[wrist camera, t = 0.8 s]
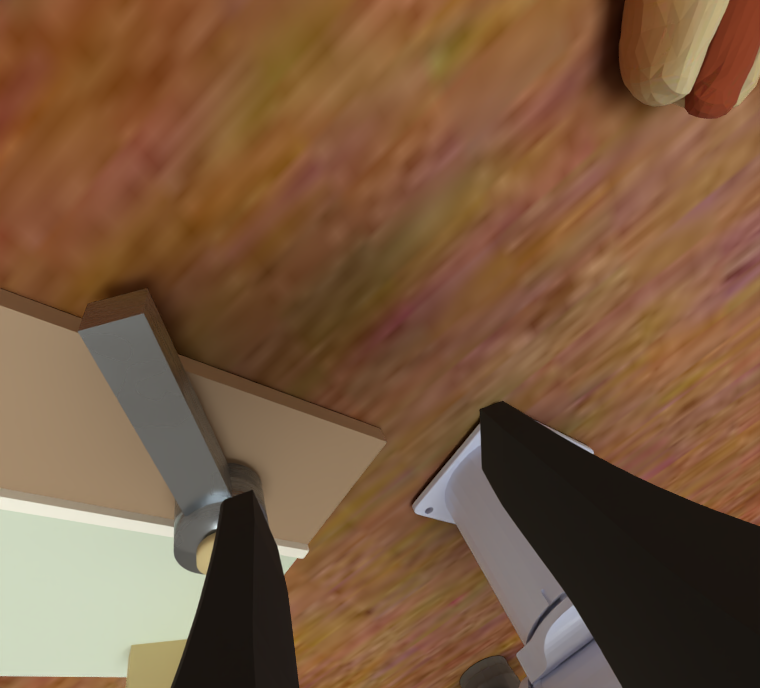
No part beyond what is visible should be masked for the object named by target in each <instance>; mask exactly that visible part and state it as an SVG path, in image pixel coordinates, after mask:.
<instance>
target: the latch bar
mask: <svg viewBox="0 0 760 688" xmlns="http://www.w3.org/2000/svg"><path fill="white" fill-rule="evenodd" d="M78 333H79V334H80V336H81V338H82V340H83V341H84V343H85V345H86V346H87V348H88V350H89V352H90V353H91V355H92V357H93V359H94V360H95V362H96V364H97V365H98V367H99V369H100V371H101V372H102V374H103V376H104V377H105V379H106V381H107V383H108V384H109V386H110V388H111V390H112V391H113V393H114V395H115V396H116V398H117V400H118V402H119V403H120V405H121V407H122V408H123V410H124V412H125V414H126V415H127V417H128V419H129V421H130V422H131V424H132V426H133V427H134V429H135V431H136V433H137V434H138V436H139V438H140V439H141V441H142V443H143V445H144V446H145V448H146V450H147V452H148V453H149V455H150V457H151V458H152V460H153V462H154V464H155V465H156V467H157V469H158V470H159V472H160V474H161V476H162V477H163V479H164V481H165V483H166V484H167V486H168V488H169V489H170V491H171V493H172V495H173V496H174V498H175V506H174V557H175V559H176V561H177V562H178V564H179V565H180V566H182V567H183V568H184V569H186V570H188V571H190V572H193V573H197V574H203V573H201V572H200V571H199V570H198V568H197V561H196V550H197V547H198V545H199V544H200V542H201V541H202V540H203V539H205V538H206V537H207V536H209V535H211V534H213V533H216V530H217V524H218V519H219V512H220V505H221V504H222V502H223V501H224V500H225V499H227V498H230V497H233V496H236V495H239V494H242V493H244V492H247V491H250V490H253V491H254V494H255V496H256V498H257V501H258V503H259V505H260V507H261V510H262V512H263V514H264V517H265V519H266V521H267V524H268V526H269V523H268V517H267V511H266V506H265V500H264V494H263V488H262V483H261V480H260V478H259V476H258V475H257V474H256V473H255V472H254V471H253V470H252V469H250V468H248V467H246V466H244V465H240V464H236V463H227V461H226V458H225V456H224V454H223V452H222V450H221V448H220V445H219V443H218V441H217V439H216V437H215V434H214V432H213V430H212V428H211V426H210V424H209V421H208V419H207V417H206V415H205V413H204V410H203V408H202V406H201V404H200V402H199V400H198V397H197V395H196V393H195V391H194V389H193V386H192V384H191V382H190V380H189V378H188V375H187V373H186V371H185V369H184V367H183V365H182V362H181V360H180V358H179V356H178V354H177V351H176V349H175V347H174V345H173V343H172V341H171V338H170V336H169V334H168V332H167V330H166V327H165V325H164V323H163V321H162V319H161V317H160V314H159V312H158V310H157V308H156V306H155V303H154V301H153V299H152V297H151V295H150V292H149V290H148V288H146V289H142V290H138V291H134V292H131V293H127V294H123V295H119V296H115V297H111V298H108V299H104V300H100V301H96V302H92V303H88V305H87V307H86V310H85V313H84V315H83V318H82V321H81V323H80V326H79V329H78ZM203 575H205V574H203Z"/></svg>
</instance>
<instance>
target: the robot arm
mask: <svg viewBox="0 0 760 688" xmlns="http://www.w3.org/2000/svg"><path fill="white" fill-rule="evenodd" d="M412 508H413V510H414V512H415V513H416V514H418V515H422V516H426V517H429V518H433V519H437V520H441V521H445V522H449V523H453V524H456V525H457V527H458V529H459V531H460V532H461V534H462V536H463V538H464V539H465V541H466V543H467V545H468V546H469V548H470V550H471V552H472V554H473V555H474V557H475V559H476V561H477V562H478V564H479V566H480V568H481V570H482V571H483V573H484V575H485V577H486V578H487V580H488V582H489V584H490V585H491V587H492V589H493V591H494V593H495V594H496V596H497V598H498V600H499V601H500V603H501V605H502V607H503V609H504V610H505V612H506V614H507V616H508V617H509V619H510V621H511V623H512V625H513V626H514V628H515V630H516V632H517V633H518V635H519V637H520V639H521V640H522V642H523V644H524V647H523V648H522V649H521V650H520V651H519V652H517V654H516V656H517V658H518V660H519V662H520V664H521V665H522V667H523V669H524V671H525V673H526V675H527V677H526V678H524V679H523V680H522V681H521V683H520V685H519V688H760V526H757V525H754V524H752V523H749V522H746V521H743V520H741V519H738V518H735V517H732V516H729V515H727V514H724V513H721V512H718V511H716V510H713V509H710V508H708V507H705V506H703V505H700V504H698V503H695V502H693V501H690V500H688V499H686V498H683V497H681V496H679V495H676V494H674V493H672V492H669V491H667V490H665V489H662V488H660V487H658V486H655V485H653V484H651V483H649V482H647V481H645V480H642V479H640V478H638V477H636V476H634V475H632V474H630V473H628V472H626V471H624V470H622V469H620V468H618V467H616V466H614V465H612V464H610V463H608V462H607V461H605V460H603V459H601V458H599V457H597V456H595V455H594V451H593V450H592V449H591V448H590V447H589V446H587V445H585V444H583V443H580V442H578V441H576V440H574V439H572V438H570V437H568V436H566V435H564V434H562V433H560V432H558V431H556V430H554V429H552V428H550V427H548V426H546V425H544V424H542V423H540V422H538V421H536V420H534V419H532V418H530V417H529V416H527V415H525V414H524V413H522V412H520V411H519V410H517V409H516V408H514V407H512V406H510V405H509V404H507V403H505V402H504V401H502V402H499V403H496V404H493V405H490V406H487V407H485V408H482V409H480V424H479V425H478V426H477V427H476V428H475V430H474V431H473V432H472V433H471V434H470V436H469V437H468V438H467V439H466V440H465V442H464V443H463V444H462V445H461V446H460V448H459V449H458V450H457V451H456V452H455V454H454V455H453V456H452V457H451V458H450V460H449V461H448V462H447V463H446V464H445V466H444V467H443V468H442V469H441V470H440V472H439V473H438V474H437V475H436V476H435V478H434V479H433V480H432V481H431V483H430V484H429V485H428V486H427V487H426V489H425V490H424V491H423V492H422V493H421V495H420V496H419V497H418V498H417V499H416V501H415V502H414V503H413V506H412ZM171 688H299V682H298V674H297V665H296V657H295V648H294V639H293V631H292V622H291V614H290V606H289V598H288V591H287V586H286V582H285V577H284V573H283V568H282V564H281V560H280V555H279V551H278V547H277V544H276V542H275V540H274V537H273V535H272V533H271V530H270V528H269V526H268V524H267V521H266V519H265V517H264V514H263V512H262V510H261V507H260V505H259V503H258V501H257V498H256V496H255V494H254V491H253V490H250V491H247V492H244V493H242V494H239V495H236V496H233V497H230V498H227V499H225V500H224V501H223V502H222V504H221V505H220V512H219V519H218V524H217V530H216V535H215V540H214V545H213V549H212V553H211V558H210V562H209V566H208V570H207V574H206V578H205V581H204V585H203V589H202V592H201V596H200V600H199V604H198V607H197V610H196V614H195V617H194V620H193V623H192V626H191V629H190V632H189V635H188V639H187V642H186V645H185V648H184V651H183V654H182V657H181V660H180V663H179V666H178V668H177V671H176V674H175V677H174V680H173V682H172V685H171Z"/></svg>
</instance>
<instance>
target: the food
mask: <svg viewBox="0 0 760 688" xmlns="http://www.w3.org/2000/svg"><path fill="white" fill-rule="evenodd" d="M619 65H620V72H621V75H622V79H623V82H624V85H625V86H626V87H627V88H628V89H629V91H630V92H631V93H632V95H633V96H634V97H635V98H636V99H637V100H639V101H641V102H642V103H644V104H646V105H650V106H653V107H654V106H663V105H668V104H671V103H673V104H675V105H678V106H681V107H684V108H685V109H686V110H687V112H688V113H689V114H690V115H693V116H696V117H700V118H706V119H712V118H718V117H721V116H723V115H726V114H727V113H728V112H729V111H730V110H731V109H732V108H733V107H736V106H739V105H740V103H741V102H742V101H743V100H744V99H745V98H746V97H747V96H748V94H749V93H750V92H751V91H752V90H753V89H754V88H755V86H756V85H757V82H758V79H759V76H760V0H625V4H624V10H623V18H622V25H621V38H620V42H619Z"/></svg>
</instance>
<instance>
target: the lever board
mask: <svg viewBox="0 0 760 688" xmlns="http://www.w3.org/2000/svg"><path fill="white" fill-rule="evenodd" d="M81 321H82V318H79V317H76V316H73V315H71V314H68V313H65V312H63V311H60V310H57V309H54V308H52V307H49V306H46V305H44V304H41V303H38V302H35V301H33V300H30V299H27V298H25V297H22V296H19V295H16V294H14V293H11V292H8V291H6V290H3V289H0V676H56V677H127V680H126V688H171V685H172V682H173V680H174V677H175V674H176V671H177V668H178V666H179V663H180V660H181V657H182V654H183V651H184V648H185V645H186V642H187V639H188V635H189V632H190V629H191V626H192V623H193V620H194V617H195V614H196V610H197V607H198V604H199V600H200V596H201V592H202V589H203V585H204V581H205V578H206V574H207V570H208V566H209V562H210V558H211V553H212V549H213V545H214V540H215V535H216V533H213V534H211V535H209V536H207V537H206V538H205V539H203V540H202V541H201V542H200V544H199V545H198V547H197V550H196V561H197V568H198V570H199V571H200V572H201V573H203V574H205V575H203V574H197V573H193V572H190V571H188V570H186V569H184V568H183V567H182V566H180V565H179V564H178V562H177V561H176V559H175V557H174V506H175V498H174V496H173V495H172V493H171V491H170V489H169V488H168V486H167V484H166V483H165V481H164V479H163V477H162V476H161V474H160V472H159V470H158V469H157V467H156V465H155V464H154V462H153V460H152V458H151V457H150V455H149V453H148V452H147V450H146V448H145V446H144V445H143V443H142V441H141V439H140V438H139V436H138V434H137V433H136V431H135V429H134V427H133V426H132V424H131V422H130V421H129V419H128V417H127V415H126V414H125V412H124V410H123V408H122V407H121V405H120V403H119V402H118V400H117V398H116V396H115V395H114V393H113V391H112V390H111V388H110V386H109V384H108V383H107V381H106V379H105V377H104V376H103V374H102V372H101V371H100V369H99V367H98V365H97V364H96V362H95V360H94V359H93V357H92V355H91V353H90V352H89V350H88V348H87V346H86V345H85V343H84V341H83V340H82V338H81V336H80V334H79V333H78V329H79V326H80V323H81ZM178 356H179V358H180V360H181V362H182V365H183V367H184V369H185V371H186V373H187V375H188V378H189V380H190V382H191V384H192V386H193V389H194V391H195V393H196V395H197V397H198V400H199V402H200V404H201V406H202V408H203V410H204V413H205V415H206V417H207V419H208V421H209V424H210V426H211V428H212V430H213V432H214V434H215V437H216V439H217V441H218V443H219V445H220V448H221V450H222V452H223V454H224V456H225V458H226V461H227V463H236V464H240V465H244V466H246V467H248V468H250V469H252V470H253V471H254V472H255V473H256V474H257V475H258V476H259V478H260V480H261V483H262V488H263V494H264V500H265V506H266V511H267V517H268V523H269V528H270V530H271V533H272V535H273V537H274V540H275V542H276V544H277V547H278V551H279V555H280V560H281V564H282V568H283V573H284V574H285V573H286V572H287V570H288V569H289V568H290V566H291V565H292V564H293V563H294V561H295V560H296V559H297V558H301V559H303V558H304V557H305V556H306V554H307V553H308V552H309V548H308V543H309V542H310V541H311V539H312V538H313V537H314V536H315V534H316V533H317V532H318V530H319V529H320V528H321V526H322V525H323V524H324V523H325V521H326V520H327V519H328V517H329V516H330V515H331V514H332V512H333V511H334V510H335V508H336V507H337V506H338V505H339V503H340V502H341V501H342V499H343V498H344V497H345V496H346V494H347V493H348V492H349V490H350V489H351V488H352V487H353V485H354V484H355V483H356V481H357V480H358V479H359V478H360V476H361V475H362V474H363V472H364V471H365V470H366V468H367V467H368V466H369V465H370V463H371V462H372V461H373V459H374V458H375V457H376V456H377V454H378V453H379V452H380V450H381V449H382V448H383V447H384V445H385V444H386V443H387V441H386V439H385V437H384V435H383V433H382V431H381V429H380V428H377V427H374V426H372V425H369V424H366V423H364V422H361V421H358V420H355V419H353V418H350V417H347V416H345V415H342V414H339V413H336V412H334V411H331V410H328V409H326V408H323V407H320V406H317V405H315V404H312V403H309V402H307V401H304V400H301V399H298V398H296V397H293V396H290V395H288V394H285V393H282V392H280V391H277V390H274V389H271V388H269V387H266V386H263V385H261V384H258V383H255V382H252V381H250V380H247V379H244V378H242V377H239V376H236V375H233V374H231V373H228V372H225V371H223V370H220V369H217V368H214V367H212V366H209V365H206V364H204V363H201V362H198V361H195V360H193V359H190V358H187V357H185V356H182V355H179V354H178Z"/></svg>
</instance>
